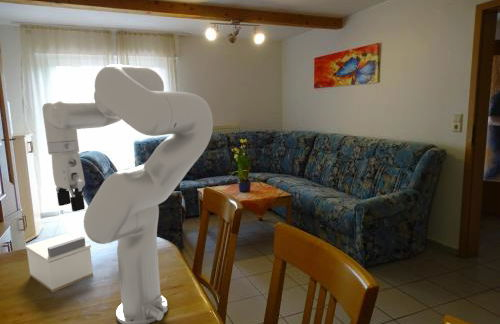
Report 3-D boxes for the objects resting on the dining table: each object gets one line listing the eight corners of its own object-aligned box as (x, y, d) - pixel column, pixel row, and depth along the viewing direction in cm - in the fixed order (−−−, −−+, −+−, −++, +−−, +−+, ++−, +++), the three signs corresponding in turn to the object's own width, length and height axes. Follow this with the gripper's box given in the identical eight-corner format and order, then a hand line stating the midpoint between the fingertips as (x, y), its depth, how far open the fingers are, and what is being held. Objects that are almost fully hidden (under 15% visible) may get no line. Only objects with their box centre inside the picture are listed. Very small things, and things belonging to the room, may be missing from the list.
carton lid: (91, 247, 105) (89, 237, 105) (48, 262, 95) (46, 251, 95) (66, 235, 115) (65, 226, 114) (25, 248, 105) (24, 238, 105)
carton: (93, 275, 107) (90, 248, 105) (52, 292, 97) (48, 263, 96) (69, 261, 116) (66, 236, 115) (30, 275, 107) (26, 249, 105)
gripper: (90, 147, 90) (98, 209, 93) (65, 144, 102) (73, 199, 105) (60, 150, 85) (69, 216, 88) (37, 147, 96) (46, 205, 99)
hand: (71, 207), depth 96 cm, fingers open, 9 cm apart
